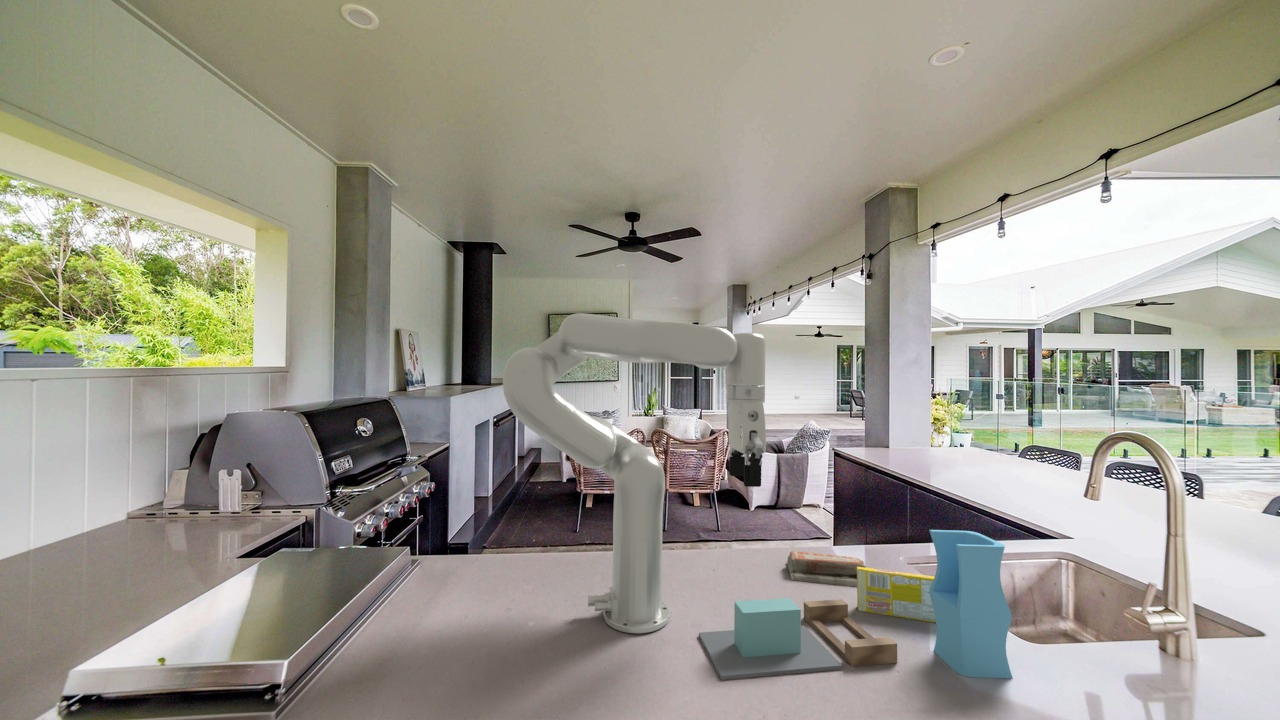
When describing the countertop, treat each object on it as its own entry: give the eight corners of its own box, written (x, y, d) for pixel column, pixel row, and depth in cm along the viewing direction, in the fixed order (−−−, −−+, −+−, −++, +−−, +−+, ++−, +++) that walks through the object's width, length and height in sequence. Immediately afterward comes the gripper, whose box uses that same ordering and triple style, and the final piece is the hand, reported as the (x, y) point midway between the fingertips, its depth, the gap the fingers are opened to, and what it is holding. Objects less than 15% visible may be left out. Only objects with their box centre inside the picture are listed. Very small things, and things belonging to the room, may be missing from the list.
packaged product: (791, 560, 105) (786, 545, 115) (791, 582, 105) (786, 565, 114) (875, 568, 101) (863, 552, 111) (876, 590, 101) (863, 572, 111)
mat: (721, 680, 69) (721, 675, 69) (698, 636, 81) (698, 632, 81) (842, 669, 72) (842, 665, 72) (803, 628, 84) (803, 625, 84)
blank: (800, 652, 75) (800, 609, 76) (743, 657, 74) (743, 613, 74) (789, 639, 79) (789, 598, 79) (734, 643, 78) (734, 601, 78)
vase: (930, 647, 79) (928, 529, 80) (976, 648, 78) (974, 530, 79) (961, 676, 71) (958, 545, 72) (1012, 678, 70) (1010, 547, 71)
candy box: (949, 621, 88) (948, 577, 88) (952, 626, 86) (952, 581, 86) (856, 606, 93) (856, 565, 93) (858, 611, 91) (857, 569, 91)
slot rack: (852, 666, 73) (852, 647, 73) (803, 617, 88) (803, 601, 88) (897, 662, 74) (897, 643, 74) (841, 615, 89) (841, 599, 89)
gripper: (780, 396, 83) (779, 491, 82) (749, 394, 100) (748, 472, 100) (740, 395, 83) (738, 491, 82) (716, 393, 100) (714, 471, 99)
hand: (744, 480), depth 91 cm, fingers open, 9 cm apart
